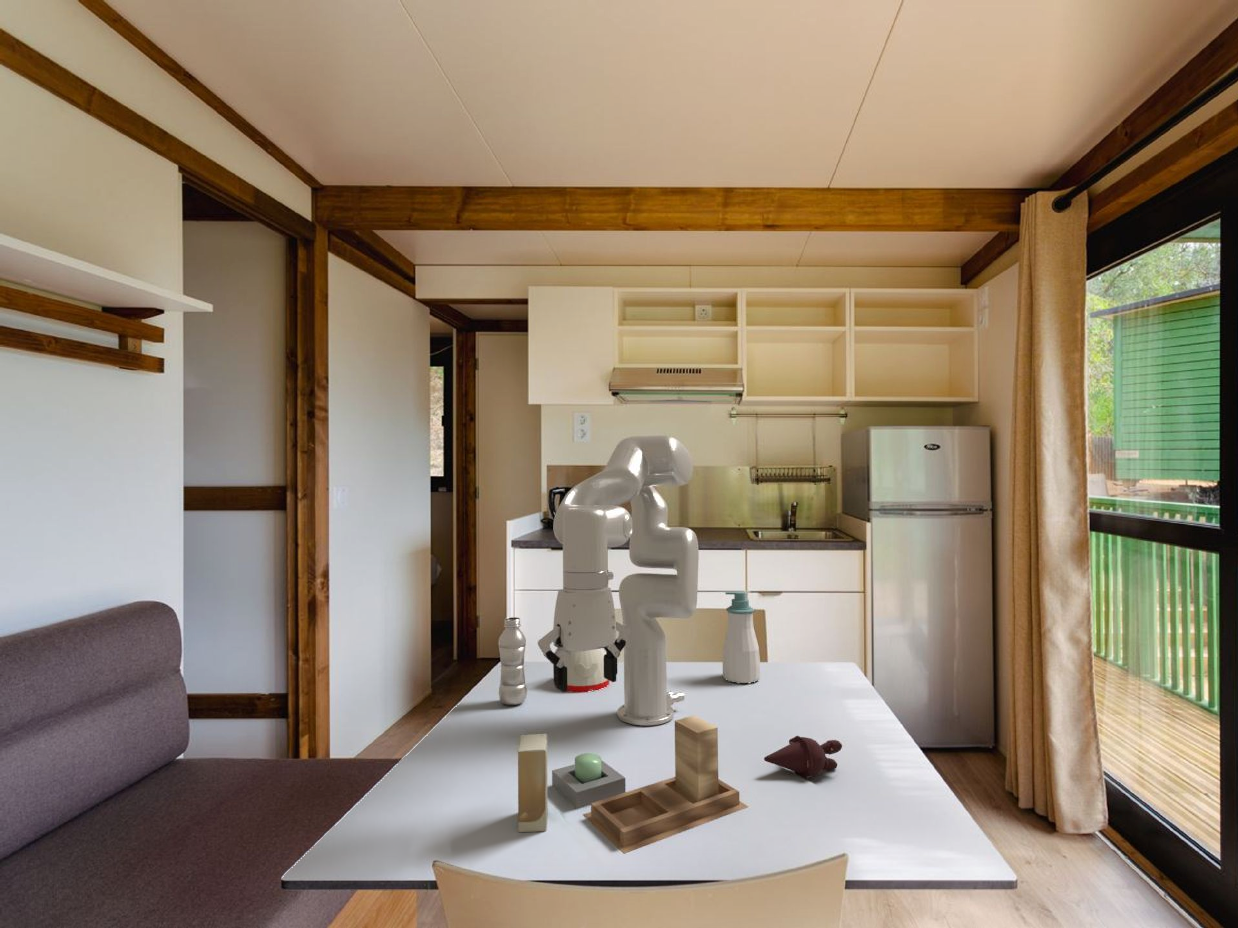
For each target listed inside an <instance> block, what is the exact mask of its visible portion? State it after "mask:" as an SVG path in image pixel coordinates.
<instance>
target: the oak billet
mask: <svg viewBox="0 0 1238 928" xmlns="http://www.w3.org/2000/svg"><path fill="white" fill-rule="evenodd" d="M718 732H719V731H718V726H715V725H714V724H711V723H710V722H708V721H706V720H704V719H701V718H699V717H697V716H695V715H690V716H688V717H684V718H680V719H676V720H674V758H675V759H674V761H675V762H674V772H675V774H674V775H675V776H674V777H675V783H676V792H677V793H678V794H679V795H681V796H682V797H684V798H685V799H687V800H688V801H690V802H691V803H692V804H694V803H696V802H699V801H702V800H705V799H708V798H711V797H714V796H716V795H719V783H718V779H719V742H718V741H719V740H718V739H719V738H718V737H719V736H718V735H719V734H718Z"/></svg>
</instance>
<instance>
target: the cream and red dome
mask: <svg viewBox="0 0 1238 928" xmlns="http://www.w3.org/2000/svg"><path fill="white" fill-rule="evenodd" d="M564 666H565V667H567V691H566V692H569V691H572V692H571V693H589V692H588V691H592V690H598V691H600V690H599V689H601V688H604V687H606V688H607V687H608V686H609V685H610V681H609V680H607V679H606V678H604V653H602V651H601V649H595V650H589V651H582V652H576V653H571V654H570V656H569V657H568V659H567V661H566V662H565V664H564ZM607 685H608V686H607ZM604 689H605V688H604ZM601 690H602V689H601ZM592 692H593V691H592Z"/></svg>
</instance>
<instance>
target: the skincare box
mask: <svg viewBox="0 0 1238 928" xmlns="http://www.w3.org/2000/svg"><path fill="white" fill-rule="evenodd" d="M517 748H518V750H517V787H518V788H517V794H518V795H517V800H518V801H517V806H518V807H517V811H518V813H517V822H518V823H517V825H518V826H517V830H518V833H529V832H530V833H531V832H546V831H547V830H548V814H549V813H548V809H549V808H548V734H547V733H537V734H536V733H535V734H534V733H532V734H531V733H530V734H521V735H520V736H519V741H518V747H517Z"/></svg>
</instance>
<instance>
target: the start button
mask: <svg viewBox="0 0 1238 928" xmlns="http://www.w3.org/2000/svg"><path fill="white" fill-rule="evenodd" d="M601 760H602V757H601V755H599V754H598V753H597V754H596V753H593V752H592V753H590V752H586V753H580V754H579V755H577V756H575V758H574V764H575V778H576V779H577V780H578V781H579V782H580V783H581V784H584V783H587V782H591V781H594V780H597V779H601Z"/></svg>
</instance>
